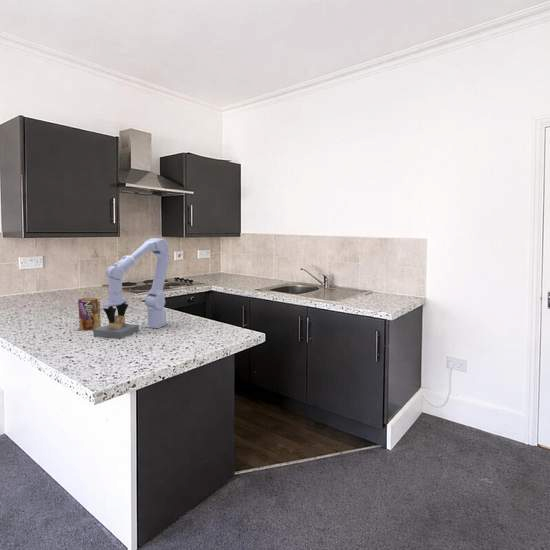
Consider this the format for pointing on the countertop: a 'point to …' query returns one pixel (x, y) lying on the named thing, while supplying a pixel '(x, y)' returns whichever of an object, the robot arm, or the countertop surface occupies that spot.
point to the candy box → (89, 313)
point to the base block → (116, 331)
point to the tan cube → (118, 322)
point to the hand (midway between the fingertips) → (116, 321)
